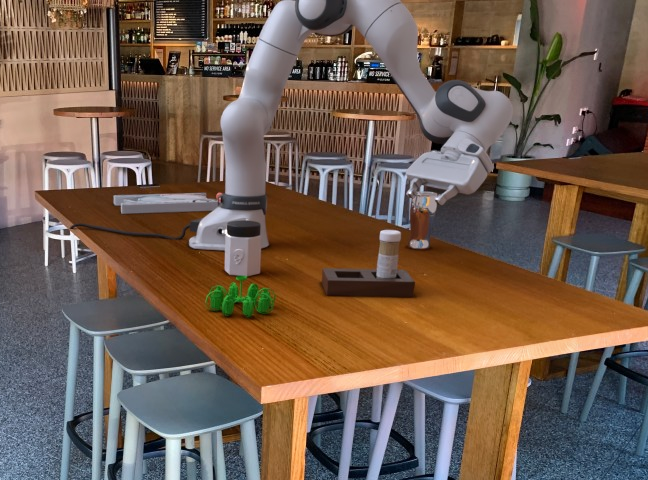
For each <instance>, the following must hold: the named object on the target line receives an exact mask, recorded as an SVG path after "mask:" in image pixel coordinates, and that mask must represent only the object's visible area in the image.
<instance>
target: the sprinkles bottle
mask: <svg viewBox="0 0 648 480" xmlns="http://www.w3.org/2000/svg"><path fill="white" fill-rule="evenodd" d="M401 239H402V232H401V231H399V230H395V229H384V230H381V231H380V232H379V248H378V255H377V264H376V269H377V274H376V275H377V277H376V278H384V279H396V273H397V270H398V264H399V251H400V250H399V249H400V243H401Z"/></svg>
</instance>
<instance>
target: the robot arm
mask: <svg viewBox="0 0 648 480" xmlns="http://www.w3.org/2000/svg"><path fill="white" fill-rule="evenodd" d="M354 27H355V29H357V31H358V32H359V33H360V34H361V35H362V37H363V38H364V39H365V40H366V42H367V43H368V45H370V46H371V48H372V49H373V51H374V52H375V53H376V55H377V56H378V57H379V59H380V60H381V62H382V63H383V65H384V67H385V68H386V70H387V71H388V73H389V74H390V77H391V78H392V80H393V81H394V83H395V85H396V86H397V87H398V89H399V90H400V92H401V93H402V95H403V96H404V98H405V99H406V101H407V103H409V105H410V107H411V108H412V110H413V111H414V112H415V114H416V117H417V120H418V124H419V126H420V130H421V133H422V134H423V136H424V138H426V139H427V140H428V141H430V142H432V143H435V144H438V145H442V147H441V148H440V150H437V149H432V150H430V151H427V152H424V153H422V154H421V155H420V156H419V157H417V158H416V160H414V162H413V163H412V164H411V165H409V167H408V168H407V169H406V172H405V176H406V178H407V179H408V181H409V182H410V186H409V189H408V190H407V191H406V193H405V194H406V196H407V198H408V199H412V198H413V199H414V198H415V196H417V194H418V193H417V192H418V189H420V188H421V187H422V186H423V187H428V188H434V189H439V190H443V191H444V192H443V193H438V194H437V197H436V198H435V202H436V203H437V205H440V206H444V205H445V204H446V202H447V201H449V200H450V199H452V198H454V197H456V196H457V194H458V193H459V194H462V195H463V194H464V195H468V196H469V195H471V194H474V193H475V192H477V190H479V188H480V187H481V186H482V185H483V183H484V182H485V180H486V179H487V177H488V174H490V173H491V172H493V170H494V169H495V166H494V164H493V162H492V159H491V157H490V156H489V154H488V153H487V152H488V150H489V148H490V147H491V146H493V145H494V144H495V143H497V141H498V140H499V139H500V137H501V136H502V135H503V134H504V132H505V131H506V129H507V128H508V127H509V125H510V123H511V121H512V119H513V116H514V107H513V104H512V101H511V100H510V98H509V97H508V96H507V95H506V94H504V93H503V92H501V91H498V90H483V89H480V88H476V87H474V86H472V85H470V83H468V82H466V81H464V80H461V79H451V80H448V81H446V82H443V83H442V84H441V85H440V86H439V87H438V88H437V90H435V89H434V88H433V85H431V83H430V81H429V80H428V79H427V78H426V76H425V75H424V73H423V71H422V69H421V67H420V63H419V58H418V42H419V41H418V40H419V28H418V27H419V26H418V25H417V22H416V21H415V19H414V17H413V15H412V13H411V11H410V10H409V9H408V8H407V7H406V6H405V4H404V3H403V2H402V0H280V1H278V2H277V3H276V4H275V6H274V7H273V9H272V10H271V12H270V14H269V16H268V17H267V19H266V21H265V23H264V25H263V27H262V29H261V31H260V33H259V36H258V38H257V41H256V43H255V46H254V48H253V51H252V53H251V56H250V57H249V60H248V63H247V65H246V67H245V73H244V79H243V82H242V86H241V88H240V89H241V90H240V93H239V96H238V98H237V99H235V100H233V101H232V102H230V103H229V104H227V106H225V108H224V110H223V111H222V115H221V116H220V129H221V132H222V143H223V152H224V160H225V180H224V181H225V182H224V184H225V185H224V186H225V187H224V193H222V192H218V193H217V194H216V200H218V206H219V207H217V208H216V209H215V210H213V211H210V212H209V213H208V214H206V215H205V216H204V217H203V218H197V219H193V220H190V221H189V224H187V225H185V226H184V227H183V228H182V231H181V234H180V235H178V236H177V237H176V236H170V235H169V236H168V235H165V234H163V233H162V234H161V233H149V232H135V231H126V230H120V229H116V228H110V227H105V226H102V225H101V226H99V225H92V224H88V223H84V222H77V223H74V224H72V225H71V226H69V230H73V229H74V228H77V227H84V228H89V229H92V230H93V229H95V230H101V231H105V232H111V233H115V234H120V235H127V236H137V237H154V238H161V239H167V240H182V239H183V238H185V236H186V231H187V230H188V229H189V232H193V233H196V235H194V236H192V237H190V238H189V239H188V247H190V248H192V249H195V250H206V251H207V250H208V251H209V250H211V251H224V252H225V235H226V233H227V223H228V222H231V221H238V220H246V221H255V222H258V223H260V224H261V229H260V235H261V236H262V239H261V249H265V248H267V247H268V246H270V243H269V238H268V233H267V225H266V215H267V209H268V197H267V193H266V187H267V185H266V184H267V183H266V182H267V162H266V155H265V153H266V152H265V138H264V137H265V135H267V133H268V132H269V131H270V129H271V127H272V124H273V122H274V119H275V117H276V113H277V111H278V108H279V107H280V106H279V105H280V103H281V100H282V97H283V93H284V90H285V87H286V85H287V82H288V80H289V77H290V75H291V73H292V70H293V68H294V66H295V63H296V61H297V59H298V57H299V55H300V51H301V49H302V47H303V44H304V42H305V41H306V40H307V38H308V37H309V36H310V35H312V34H314V35H316V36H323V37H339V36H342V35H345V34H347V33H348V32H349V31H351V29H352V28H354Z"/></svg>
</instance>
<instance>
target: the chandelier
mask: <svg viewBox="0 0 648 480" xmlns="http://www.w3.org/2000/svg"><path fill="white" fill-rule="evenodd" d="M235 280H236V281H240V283H239V284H240V286H238V285H237V284H236V282H231V283H230V286H229V288H228V290H226V288H225V287H224V286H222V285H214V286H212V287H211V288H210V290H209V293H207V295H206V297H205V305H206V307H207V308H208V309H209V310H210V311H213V312H218V311H221V313H222V315H223V316H225V317H229V316H231V315H232V314H233V313H234V308H235V304H236V303H242V314H243V315H245V317H246V318H252V316H253V314H254V308H255V310H256V311H257V312H258V313H260V314H262V315H266V314H269V313H271V312H272V310H273V309H274V303H275V302H276V293H275V292H274V291H273V290H272V289H271V288H269V287H264V288H261V289H259V286H258V284H257V283H251V284H250V285H249V286H248V289H247V293H246V295H245V296H243V281H247V280H248V276H247V277H246V276H235ZM214 288H215V289H214ZM213 289H214V290H213ZM227 291H228V292H227ZM270 291H271V292H270ZM271 293H272V295H273V298H272V297H271ZM208 299H210V307H209V305H208ZM270 307H271V308H270Z"/></svg>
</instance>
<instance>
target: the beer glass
mask: <svg viewBox="0 0 648 480" xmlns="http://www.w3.org/2000/svg"><path fill="white" fill-rule="evenodd" d="M416 192H417V193H418V194H417V196H415V198H414V199H413V198H411V199H410V207H409V225H410V226H409V227H410V228H409V229H410V235H409V239H408V242H407V248H408V249H411V250H415V251H416V250H417V251H427V250H429V249H431V241H430V240H431V239H430V238H431V231H432V228H433V226H434V222H435V218H436V214H437V207H438V204H437V203H436V202H435V198H436V197H437V196H438V193H437V192H433V191H423V190H422V191H421V190H419V191H418V190H417V191H416Z"/></svg>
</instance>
